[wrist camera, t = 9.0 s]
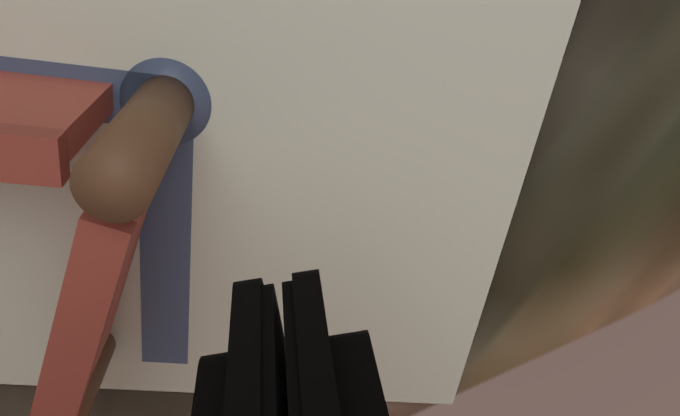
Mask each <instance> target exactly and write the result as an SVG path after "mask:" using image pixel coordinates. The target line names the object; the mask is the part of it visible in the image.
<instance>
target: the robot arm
mask: <svg viewBox="0 0 680 416" xmlns="http://www.w3.org/2000/svg"><path fill="white" fill-rule="evenodd" d="M282 299H283V319H284V332H283V327H282V322H281V317H280V312H279V307H278V302H277V297H276V292H275V287H274V284H273V283H272V284H266V285H264V284H263V280H262V278H256V279H249V280H243V281H236V282H233V286H232V300H231V313H230V327H229V340H228V352H224V353H218V354H212V355H205V356H201V357H200V359H199V362H198V368H197V375H196V383H195V390H194V398H193V405H192V413H191V416H389V414H388V410H387V406H386V401H385V397H384V393H383V389H382V385H381V381H380V376H379V372H378V368H377V364H376V360H375V356H374V351H373V347H372V343H371V339H370V335H369V332H368V330H362V331H356V332H350V333H343V334H337V335H331V336H329V334H328V327H327V320H326V313H325V307H324V300H323V293H322V287H321V280H320V273H319V269H315V270H308V271H302V272H295V273H292V281H285V282H282Z"/></svg>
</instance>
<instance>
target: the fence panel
mask: <svg viewBox="0 0 680 416" xmlns="http://www.w3.org/2000/svg"><path fill="white" fill-rule="evenodd" d="M147 210H148V209H147ZM146 213H147V211H146V212H145V213H144V214H143V215H142V216H140V217H139V218H137V219H135V220H132V221H129V222H125V223H109V222H104V221H101V220H98V219H96V218H94V217H92V216H90V215H89V214H87V213H86V212H85V211H84V212H83V213H82V215H81V216H80V217H79V219H78V223H77V227H76V231H75V235H74V239H73V243H72V247H71V251H70V255H69V259H68V263H67V267H66V271H65V275H64V279H63V283H62V288H61V292H60V296H59V300H58V304H57V308H56V312H55V316H54V320H53V324H52V328H51V332H50V336H49V340H48V344H47V348H46V352H45V356H44V360H43V364H42V368H41V372H40V376H39V380H38V384H37V388H36V392H35V396H34V400H33V404H32V408H31V412H30V416H89V413H90V411H91V408H92V406H93V403H94V401H95V398H96V396H97V393H98V391H99V388H100V385H101V383H102V380H103V378H104V375H105V373H106V370H107V368H108V365H109V363H110V360H111V358H112V355H113V353H114V350H115V348H116V341H115V339H114V337H113V335H112V334H111V333H110V331H111V328H112V324H113V321H114V318H115V315H116V311H117V308H118V305H119V302H120V298H121V295H122V292H123V289H124V285H125V282H126V279H127V276H128V272H129V269H130V266H131V262H132V259H133V256H134V253H135V249H136V246H137V243H138V240H139V236H140V233H141V230H142V227H143V223H144V220H145V217H146Z"/></svg>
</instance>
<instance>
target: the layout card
mask: <svg viewBox="0 0 680 416" xmlns="http://www.w3.org/2000/svg"><path fill="white" fill-rule="evenodd" d="M580 2H581V0H0V71H8V72H17V73H26V74H34V75H43V76H52V77H61V78H69V79H78V80H87V81H96V82H104V83H113V107H114V111H113V112H112V113H111V115H110V116H109V117H108V118H107V119H106V120H105V121H104V123H103V124H102V125H101V126H100V127H99V128H98V130H97V131H96V132H95V133H94V134H93V135H92V136H91V138H90V139H89V140H88V141H87V142H86V143H85V145H84V146H83V147H82V148H81V149H80V150H79V151H78V153H77V154H76V155H75V156H74V157H73V158H72V160H71V161H70V162H69V163H70V173H71V170H72V168H73V166H74V165H75V164H76V162H77V161H78V160H79V159H80V158H81V156H82V155H83V154H84V153H85V152H86V150H87V149H88V148H89V147H90V146H91V144H92V143H93V142H94V141H95V140H96V139H97V137H98V136H99V135H100V134H101V133H102V131H103V130H104V129H105V128H106V127H107V125H108V124H109V123H110V122H111V121H112V119H113V118H114V117H115V116H116V115H117V113H118V112H119V111H120V110H121V109H122V108H123V106H124V105H125V104H126V103H127V102H128V100H129V99H130V98H131V97H132V96H133V94H134V93H135V92H136V91H137V90H138V88H139V87H140V86H141V85H142V84H143V83H144V82H145V81H146V80H147V79H149V78H151V77H154V76H159V75H166V76H171V77H174V78H176V79H178V80H180V81H181V82H182V83H184V84H185V85H186V86H187V87H188V89H189V90H190V92H191V94H192V96H193V99H194V112H193V115H192V117H191V119H190V121H189V124H188V126H187V128H186V130H185V132H184V134H183V136H182V138H181V141H180V143H179V145H178V147H177V149H176V151H175V153H174V155H173V158H172V160H171V162H170V164H169V166H168V168H167V170H166V172H165V175H164V177H163V179H162V181H161V183H160V185H159V187H158V189H157V192H156V194H155V196H154V198H153V200H152V202H151V204H150V206H149V208H148V210H147V213H146V217H145V220H144V223H143V227H142V230H141V233H140V236H139V240H138V243H137V246H136V249H135V253H134V256H133V259H132V262H131V266H130V269H129V272H128V276H127V279H126V282H125V285H124V289H123V292H122V295H121V298H120V302H119V305H118V308H117V311H116V315H115V318H114V321H113V324H112V328H111V331H110V333H111V334H112V335H113V337H114V339H115V341H116V348H115V350H114V353H113V355H112V358H111V360H110V363H109V365H108V368H107V370H106V373H105V375H104V378H103V380H102V383H101V385H100V388H102V389H124V390H146V391H168V392H191V393H194V390H195V383H196V375H197V368H198V362H199V359H200V357H201V356H205V355H212V354H218V353H224V352H228V340H229V327H230V313H231V300H232V286H233V282H236V281H243V280H249V279H256V278H262V280H263V284H264V285H266V284H272V283H273V284H274V287H275V292H276V297H277V302H278V307H279V312H280V317H281V322H282V327H283V332H284V319H283V299H282V282H285V281H292V273H295V272H302V271H308V270H315V269H319V273H320V280H321V287H322V293H323V300H324V307H325V313H326V320H327V327H328V334H329V336H331V335H337V334H343V333H350V332H356V331H362V330H368V332H369V335H370V339H371V343H372V347H373V351H374V356H375V360H376V364H377V368H378V372H379V376H380V381H381V385H382V389H383V393H384V397H385V401H389V402H411V403H433V404H453V401H454V398H455V395H456V392H457V389H458V386H459V382H460V379H461V376H462V373H463V370H464V367H465V364H466V360H467V357H468V354H469V351H470V348H471V345H472V342H473V338H474V335H475V332H476V329H477V326H478V323H479V319H480V316H481V313H482V310H483V307H484V304H485V301H486V297H487V294H488V291H489V288H490V285H491V282H492V279H493V275H494V272H495V269H496V266H497V263H498V260H499V257H500V253H501V250H502V247H503V244H504V241H505V238H506V235H507V231H508V228H509V225H510V222H511V219H512V216H513V213H514V209H515V206H516V203H517V200H518V197H519V194H520V191H521V187H522V184H523V181H524V178H525V175H526V172H527V169H528V165H529V162H530V159H531V156H532V153H533V150H534V146H535V143H536V140H537V137H538V134H539V131H540V128H541V124H542V121H543V118H544V115H545V112H546V109H547V106H548V102H549V99H550V96H551V93H552V90H553V87H554V84H555V80H556V77H557V74H558V71H559V68H560V65H561V62H562V58H563V55H564V52H565V49H566V46H567V43H568V40H569V36H570V33H571V30H572V27H573V24H574V21H575V18H576V14H577V11H578V8H579V5H580ZM83 212H84V210H82V209H81V208H80V207H79V205H78V204H77V203H76V201H75V200H74V198H73V196H72V194H71V190H70V185H69V180H68V181H67V182H66V183H65V185H64V186H63V187H62V188H56V187H44V186H33V185H22V184H11V183H0V384H14V385H36V386H37V384H38V380H39V376H40V372H41V368H42V364H43V360H44V356H45V352H46V348H47V344H48V340H49V336H50V332H51V328H52V324H53V320H54V316H55V312H56V308H57V304H58V300H59V296H60V292H61V288H62V283H63V279H64V275H65V271H66V267H67V263H68V259H69V255H70V251H71V247H72V243H73V239H74V235H75V231H76V227H77V223H78V219H79V217H80V216H81V215H82V213H83Z"/></svg>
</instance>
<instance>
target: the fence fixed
mask: <svg viewBox="0 0 680 416" xmlns="http://www.w3.org/2000/svg"><path fill="white" fill-rule="evenodd" d="M113 111H114V107H113V83H104V82H96V81H87V80H78V79H69V78H61V77H52V76H43V75H34V74H26V73H17V72H8V71H0V183H11V184H22V185H33V186H44V187H56V188H62V187H63V186H64V185H65V183H66V182H67V181H68V180H69V185H70V190H71V194H72V196H73V198H74V200H75V201H76V203H77V204H78V205H79V207H80V208H81V209H82V210H84V211H85V212H86V213H87V214H89V215H90V216H92V217H94V218H96V219H98V220H101V221H104V222H109V223H125V222H129V221H132V220H135V219H137V218H139V217H140V216H142V215H143V214H144V213H145V212H146V211H147V209H148V208H149V206H150V204H151V202H152V200H153V198H154V196H155V194H156V192H157V189H158V187H159V185H160V183H161V181H162V179H163V177H164V175H165V172H166V170H167V168H168V166H169V164H170V162H171V160H172V158H173V155H174V153H175V151H176V149H177V147H178V145H179V143H180V141H181V138H182V136H183V134H184V132H185V130H186V128H187V126H188V124H189V121H190V119H191V117H192V115H193V112H194V99H193V96H192V94H191V92H190V90H189V89H188V87H187V86H186V85H185V84H184V83H182V82H181V81H180V80H178V79H176V78H174V77H171V76H166V75H159V76H154V77H151V78H149V79H147V80H146V81H145V82H144V83H143V84H142V85H141V86H140V87H139V88H138V90H137V91H136V92H135V93H134V94H133V96H132V97H131V98H130V99H129V100H128V102H127V103H126V104H125V105H124V106H123V108H122V109H121V110H120V111H119V112H118V113H117V115H116V116H115V117H114V118H113V119H112V121H111V122H110V123H109V124H108V125H107V127H106V128H105V129H104V130H103V131H102V133H101V134H100V135H99V136H98V137H97V139H96V140H95V141H94V142H93V143H92V144H91V146H90V147H89V148H88V149H87V150H86V152H85V153H84V154H83V155H82V156H81V158H80V159H79V160H78V161H77V162H76V164H75V165H74V166H73V168H72V170H71V173H70V163H69V162H70V161H71V160H72V158H73V157H74V156H75V155H76V154H77V153H78V151H79V150H80V149H81V148H82V147H83V146H84V145H85V143H86V142H87V141H88V140H89V139H90V138H91V136H92V135H93V134H94V133H95V132H96V131H97V130H98V128H99V127H100V126H101V125H102V124H103V123H104V121H105V120H106V119H107V118H108V117H109V116H110V115H111V113H112V112H113Z"/></svg>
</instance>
